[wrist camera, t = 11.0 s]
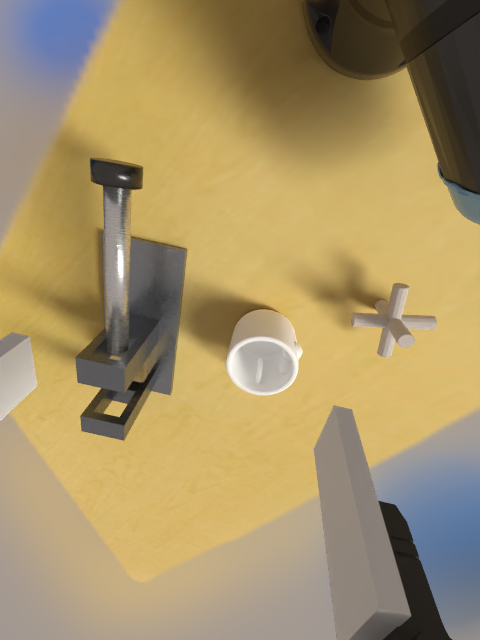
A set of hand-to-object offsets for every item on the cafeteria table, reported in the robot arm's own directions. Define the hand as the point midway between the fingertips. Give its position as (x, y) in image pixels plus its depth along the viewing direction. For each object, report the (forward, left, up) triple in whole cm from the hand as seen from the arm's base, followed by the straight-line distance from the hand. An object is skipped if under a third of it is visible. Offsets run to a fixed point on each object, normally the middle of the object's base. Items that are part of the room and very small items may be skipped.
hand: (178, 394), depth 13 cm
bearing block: (+18, -14, -33) cm, 40 cm away
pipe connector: (+6, +21, -33) cm, 40 cm away
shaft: (+5, -14, -26) cm, 30 cm away
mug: (+16, +6, -33) cm, 37 cm away
